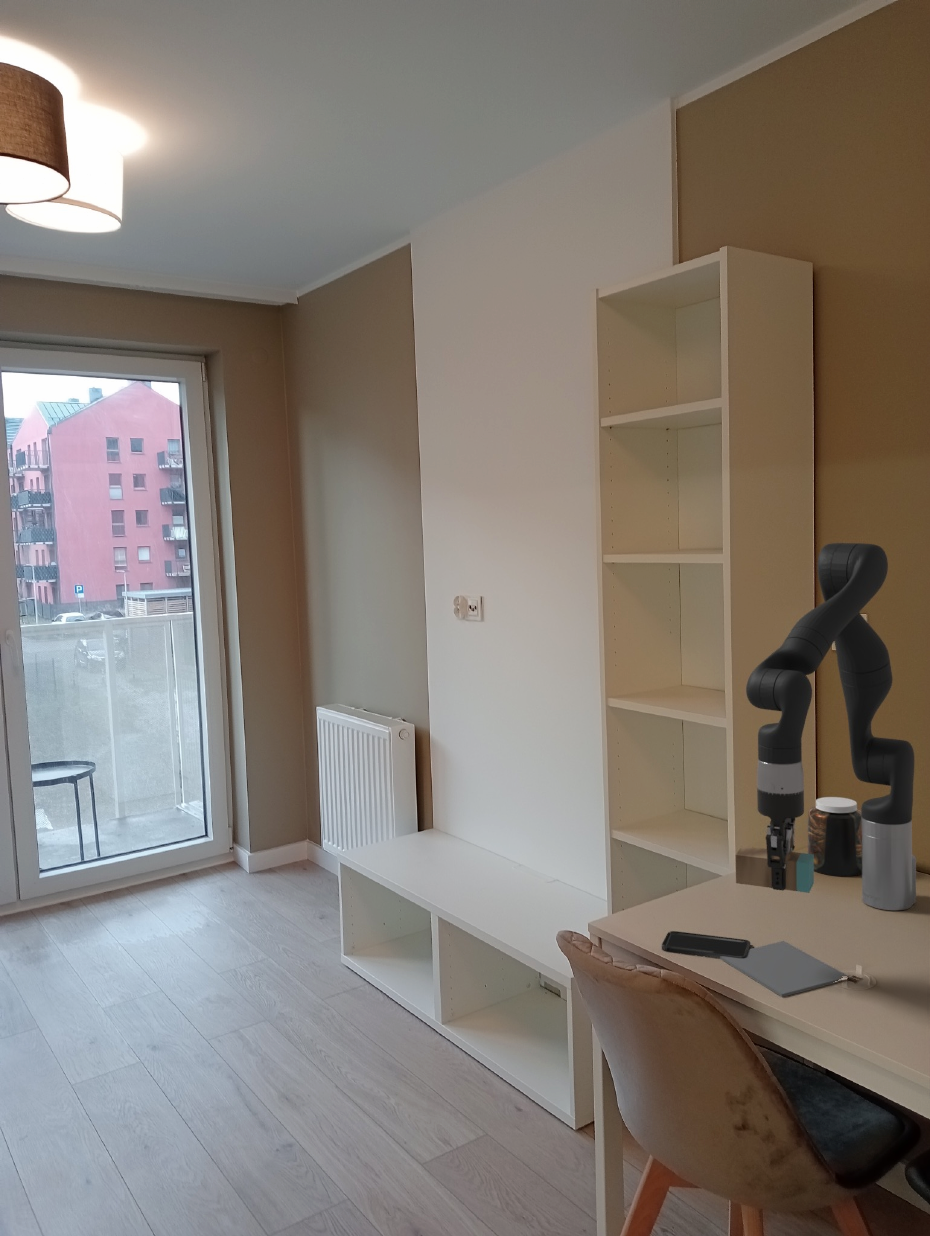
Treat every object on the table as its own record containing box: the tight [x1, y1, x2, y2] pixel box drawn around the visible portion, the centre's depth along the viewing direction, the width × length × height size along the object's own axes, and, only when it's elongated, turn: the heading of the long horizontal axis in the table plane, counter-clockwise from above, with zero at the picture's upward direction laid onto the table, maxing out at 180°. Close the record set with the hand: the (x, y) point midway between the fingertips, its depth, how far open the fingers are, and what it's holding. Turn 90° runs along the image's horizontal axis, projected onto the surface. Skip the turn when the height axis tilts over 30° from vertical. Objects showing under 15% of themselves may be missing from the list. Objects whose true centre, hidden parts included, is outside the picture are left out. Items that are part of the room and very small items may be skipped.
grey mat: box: [720, 940, 850, 998], centre depth 165 cm, size 14×16×1 cm
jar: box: [807, 796, 862, 877], centre depth 212 cm, size 12×12×15 cm
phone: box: [661, 930, 751, 960], centre depth 174 cm, size 8×1×15 cm
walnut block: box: [735, 845, 815, 894], centre depth 164 cm, size 5×5×12 cm
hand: (781, 883), depth 164 cm, fingers closed on walnut block, 5 cm apart
